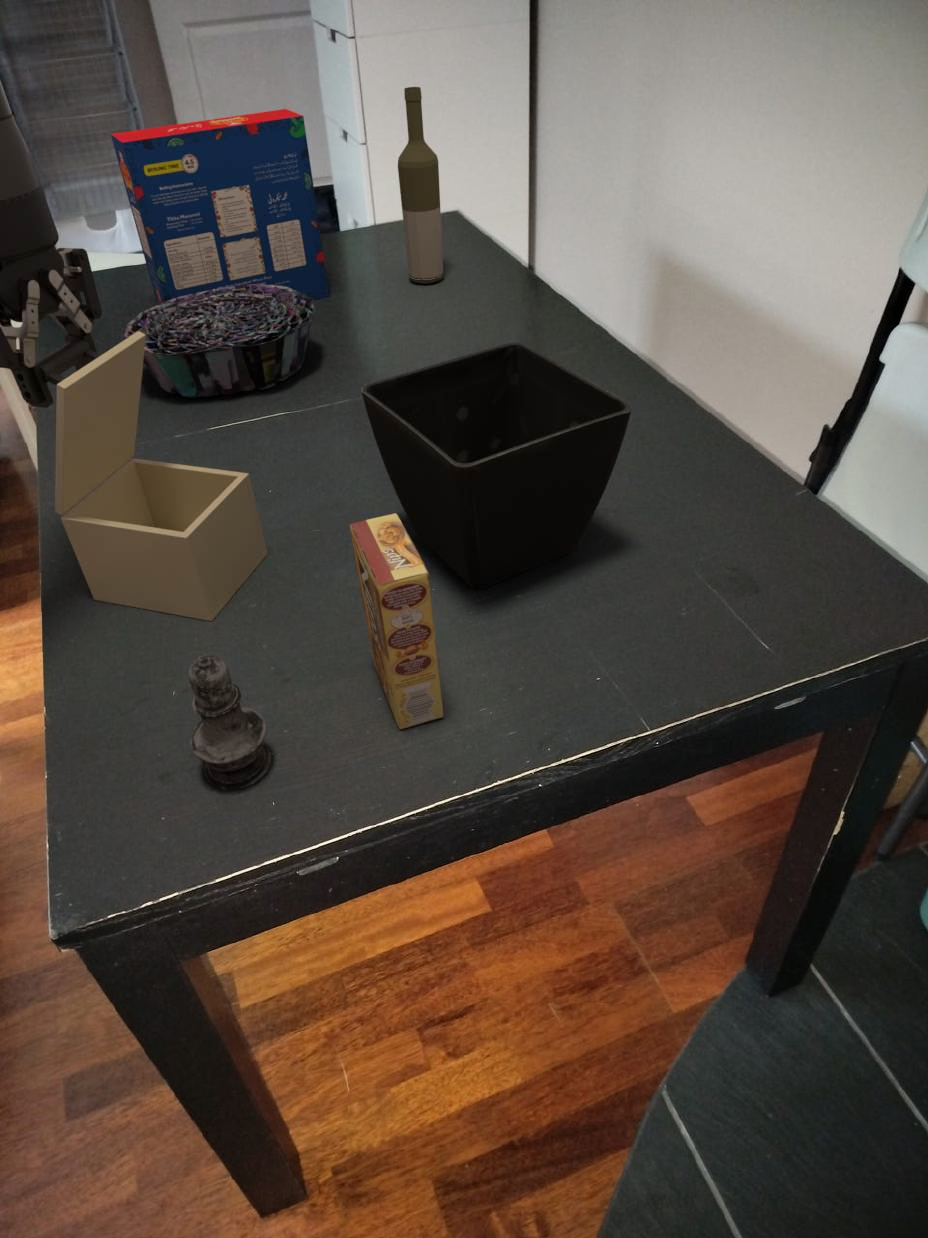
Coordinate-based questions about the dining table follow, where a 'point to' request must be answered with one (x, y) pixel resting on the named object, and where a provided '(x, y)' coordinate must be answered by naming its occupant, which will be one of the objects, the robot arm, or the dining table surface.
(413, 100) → the bottle
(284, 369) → the decorative bowl
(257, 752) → the salt shaker
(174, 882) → the dining table surface
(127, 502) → the tan lidded cardboard box
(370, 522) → the candy box
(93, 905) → the dining table surface
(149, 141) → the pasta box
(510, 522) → the flower pot
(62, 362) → the lid
